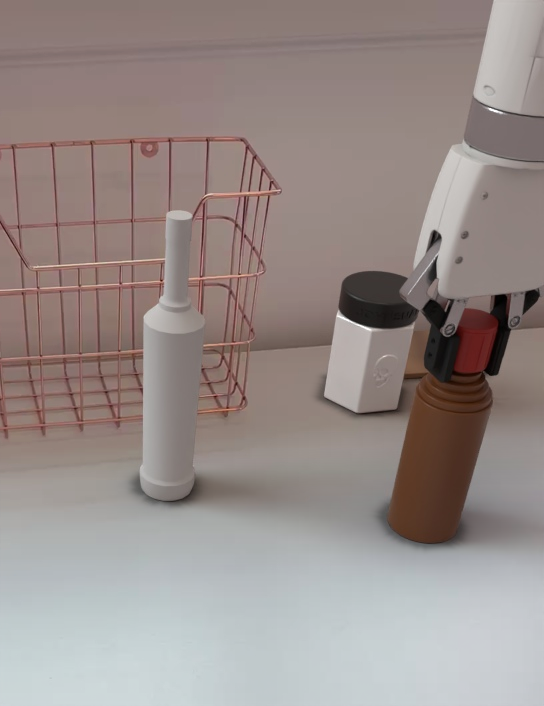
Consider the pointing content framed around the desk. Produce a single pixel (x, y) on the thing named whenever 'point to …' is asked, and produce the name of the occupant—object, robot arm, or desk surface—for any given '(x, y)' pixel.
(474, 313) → the cap
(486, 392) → the bottle
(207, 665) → the desk surface
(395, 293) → the jar
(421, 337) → the coaster
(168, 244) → the bottle
